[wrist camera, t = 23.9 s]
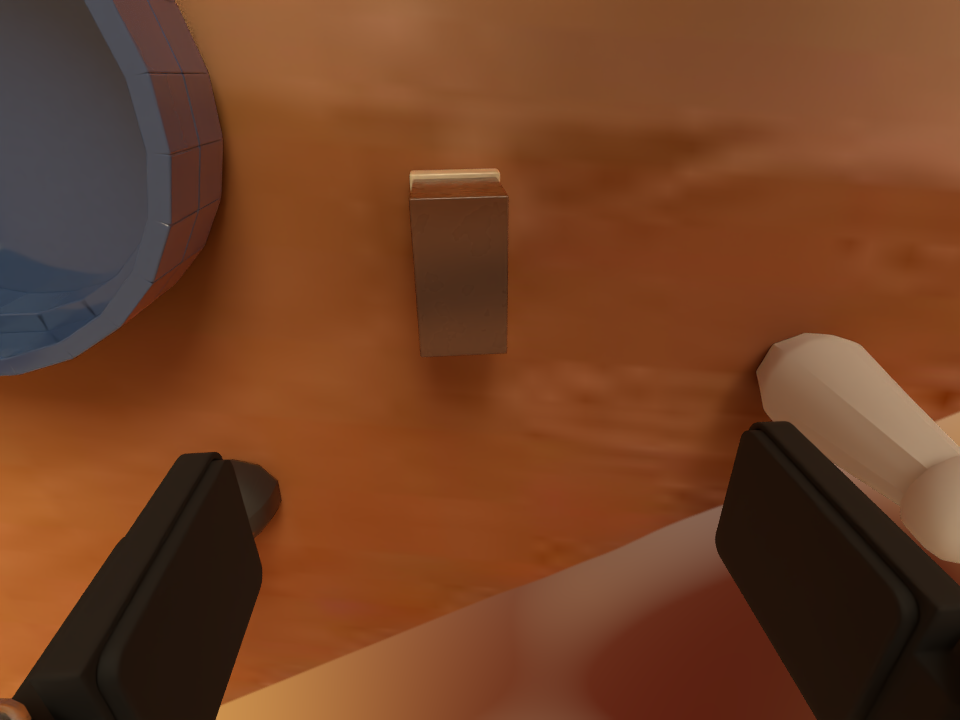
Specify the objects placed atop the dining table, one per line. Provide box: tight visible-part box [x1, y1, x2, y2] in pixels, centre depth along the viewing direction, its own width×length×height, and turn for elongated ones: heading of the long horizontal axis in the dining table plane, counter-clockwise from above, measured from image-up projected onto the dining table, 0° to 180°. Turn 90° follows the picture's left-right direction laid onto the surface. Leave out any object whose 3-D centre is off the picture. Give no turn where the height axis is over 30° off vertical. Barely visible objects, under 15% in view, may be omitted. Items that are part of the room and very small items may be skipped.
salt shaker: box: [756, 333, 960, 563], centre depth 25 cm, size 6×6×13 cm
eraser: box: [409, 168, 509, 357], centre depth 24 cm, size 7×4×6 cm, turn 1°
